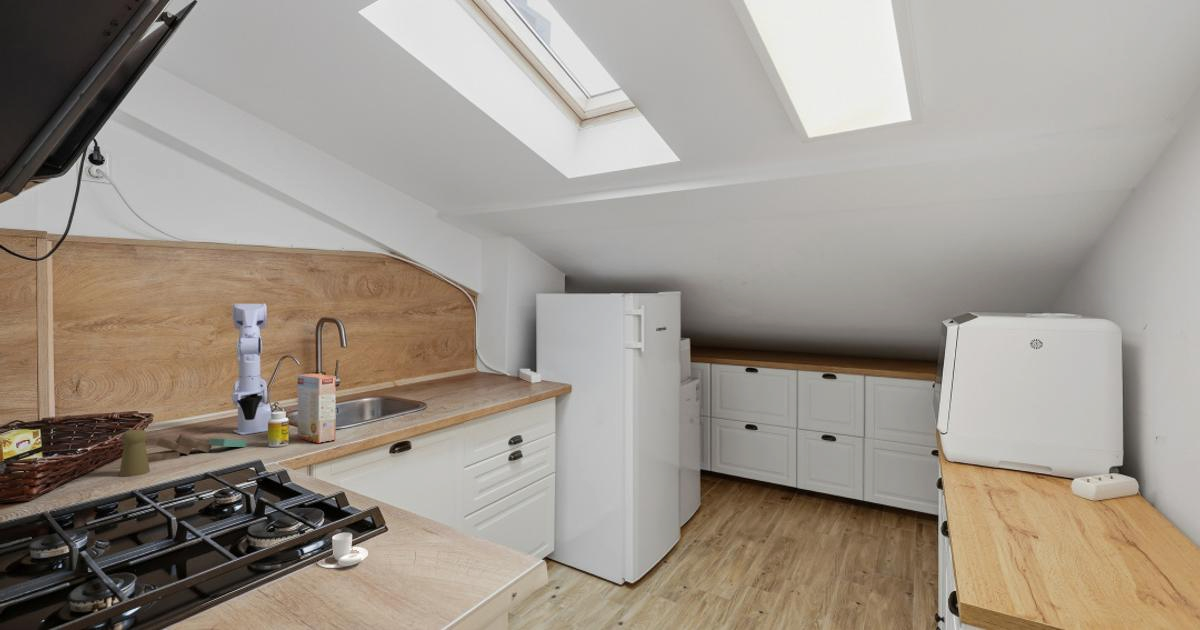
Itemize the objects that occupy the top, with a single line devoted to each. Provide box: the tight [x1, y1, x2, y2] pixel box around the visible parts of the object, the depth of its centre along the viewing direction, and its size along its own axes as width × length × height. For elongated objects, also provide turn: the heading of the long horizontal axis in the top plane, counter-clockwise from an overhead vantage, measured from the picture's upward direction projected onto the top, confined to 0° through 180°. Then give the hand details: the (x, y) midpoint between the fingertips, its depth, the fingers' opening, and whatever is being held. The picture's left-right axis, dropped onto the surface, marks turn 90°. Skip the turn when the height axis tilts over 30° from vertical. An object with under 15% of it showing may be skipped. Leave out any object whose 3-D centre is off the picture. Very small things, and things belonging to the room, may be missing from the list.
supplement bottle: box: [267, 410, 290, 448], centre depth 170 cm, size 6×6×10 cm
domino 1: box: [156, 435, 193, 455], centre depth 158 cm, size 2×5×8 cm
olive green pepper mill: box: [118, 429, 151, 477], centre depth 141 cm, size 6×6×11 cm
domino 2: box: [147, 449, 181, 464], centre depth 155 cm, size 2×5×8 cm
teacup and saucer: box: [316, 532, 369, 569], centre depth 94 cm, size 9×8×4 cm
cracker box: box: [297, 372, 337, 444], centre depth 178 cm, size 14×6×21 cm, turn 53°
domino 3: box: [176, 433, 213, 453], centre depth 161 cm, size 2×5×8 cm
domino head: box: [209, 437, 248, 448], centre depth 165 cm, size 2×5×8 cm
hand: (249, 419), depth 171 cm, fingers closed
